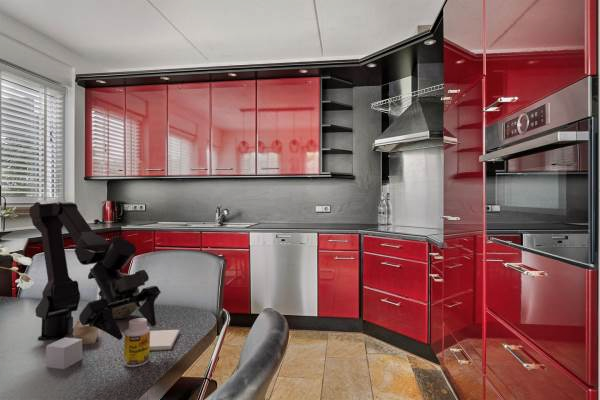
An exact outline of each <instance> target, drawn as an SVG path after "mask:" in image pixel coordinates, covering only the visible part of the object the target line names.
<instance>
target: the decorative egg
mask: <svg viewBox="0 0 600 400" xmlns="http://www.w3.org/2000/svg"><path fill="white" fill-rule="evenodd" d="M121 274H122V276H127V275H129V274H128V273H126V272H125V273H124V272H121ZM140 292H141V291H140V289H139V287H137V291H136V293H134V294H133V296H136V295H138V294H139V293H140ZM103 299H105V297H104V296H103ZM137 308H138V306H137V305H136V304H132V305H128V306H125V307H121V308H118V309H115V310H112V313H113V318H114V319H119V320H120V319H125V318H128V317H129V316H131V315H132V314H133V313H134V312H135V311H136V309H137Z"/></svg>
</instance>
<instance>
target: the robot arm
mask: <svg viewBox="0 0 600 400" xmlns="http://www.w3.org/2000/svg"><path fill="white" fill-rule="evenodd" d="M28 211H29V217H30V219H31V222H32V225H33V226H34V228H36V229H37V230H38V231H39V232H40V234H41V239H42V240H41V241H42V247H43V254H44V255H43V256H44V262H45V268H46V277H47V283H46V285H45V286H44V287H43V288H44V289H43V290H42V293H41V294H42V299H41V300H40V302H39V303H38V304H37V306H36V307H35V316H36V318H37V317H38V318H40V319H41V334H40V335H39V336H38V337H37V340H53V339H54V340H56V339H57V340H58V339H59V340H60V339H63V338H65V337H66V336H68V335H69V334H71V333H72V332H74V317H73V316H72V313H73V312H76V311H78V308H79V304H80V300H81V292H80V289H79V288H80V287H79V282H78V281H77V280H73V279H72V278H71V277H70V276H69V271H68V270H69V269H68V264H67V263H68V262H67V257H66V250H65V244H64V237H63V227H64V228H65V230H66V231H67V232H68V234H69V236H70V238H71V239H72V240H73V242H74V243H75V247H74V255H75V256H76V259H77V260H78V262H79V263H80V264H81V265H82V266H83V265H84V266H87V265H93V267H91V268H90V269H89V273H88V275H87V279H88V280H92V279H94V280H95V283H96V284H97V287H98V289H99V292H98V295H99V297H103V298H100V299H96V300H92V301H88V303H87V304H86V305H85V306H84V308H83V310H82V311H81V312H80V314H79V316H78V321H80V322H81V324H82V325H83V326H85V325H88V324H89V326H90V327H92V326H94V327H96V328H98V330H101V331H103V332H105V333H107V334H109V335H110V336H112V337H113V338H115V339H117V340H119V341H120V340H122V339H123V338H124V337H123V336H124V335H123V334H122V331H121V329H120V327H119V326H118V325H119V324H118V323H117V321H116V320H115V318H114V317H113V313H112V310H115V309H118V308H121V307H125V306H128V305H132V304H136V305H137V308H138V311H139V313H140V314H141V315H142V317H143V318H145V319H147V324H149V325H150V326H151V327H153V328H154V327H156V326H157V321H156V315H155V314H156V313H155V303H156V300H157V299H158V297H159V295H160V294H161V293H162V291H161V290H160V288H159V287H158V286H157V285H151V286H147V287H144V288H142V290H140V291H139V292H140V293H139V294H138V295H136V296H133V294H134V293H136V291H137V287H138V288H139V287H141V286H144V285H146V284H145V283H147V282H148V281H149V279H150V277H149V274H148V272H147V271H146V270H145V269H142V270H138V271H136V272H135V273H132V274H128V275H127V276H122V274H121V273H122V272H121V271H120V270H122V269H124V268H125V267H126V265H128V263H129V262H130V260H131V259H132V258H133V257H134V255H135V254H136V252H137V247H136V246H135V244H133V242H131V241H129V240H128V239H124V238H123V237H122V236H120V235H119V236H118V235H117V236H113V237H112V239H111V241H110V242H109V241H108V240H107V239H106V238H105V237H104V236H102V235H99V234H97V233H95V232H94V230H93V229H92V228H91V226H90V225H89V224H88V222H87V220H86V219H85V218H84V216H83V215H82V214H81V212H80V211H79V209H78V205H77V204H76V203H75V202H72V201H54V202H52V201H50V202H49V201H36V202H35V203H34V204H33V205H31V206H30V207H29V210H28ZM104 297H105V299H104Z"/></svg>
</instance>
